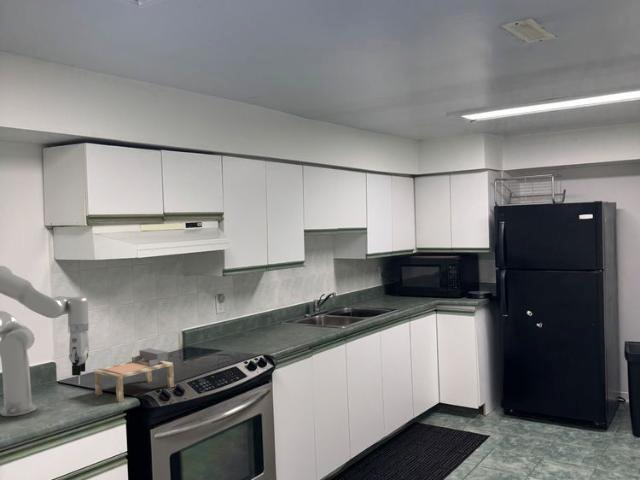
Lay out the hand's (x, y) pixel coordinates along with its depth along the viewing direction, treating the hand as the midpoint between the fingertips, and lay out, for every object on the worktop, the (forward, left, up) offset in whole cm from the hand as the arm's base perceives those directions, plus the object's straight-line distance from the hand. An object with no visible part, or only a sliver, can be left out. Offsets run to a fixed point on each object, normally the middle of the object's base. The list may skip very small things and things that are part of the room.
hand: (78, 372), depth 235 cm
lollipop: (0, 0, -5) cm, 5 cm away
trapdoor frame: (+18, -18, -13) cm, 28 cm away
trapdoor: (+19, -18, -4) cm, 26 cm away
